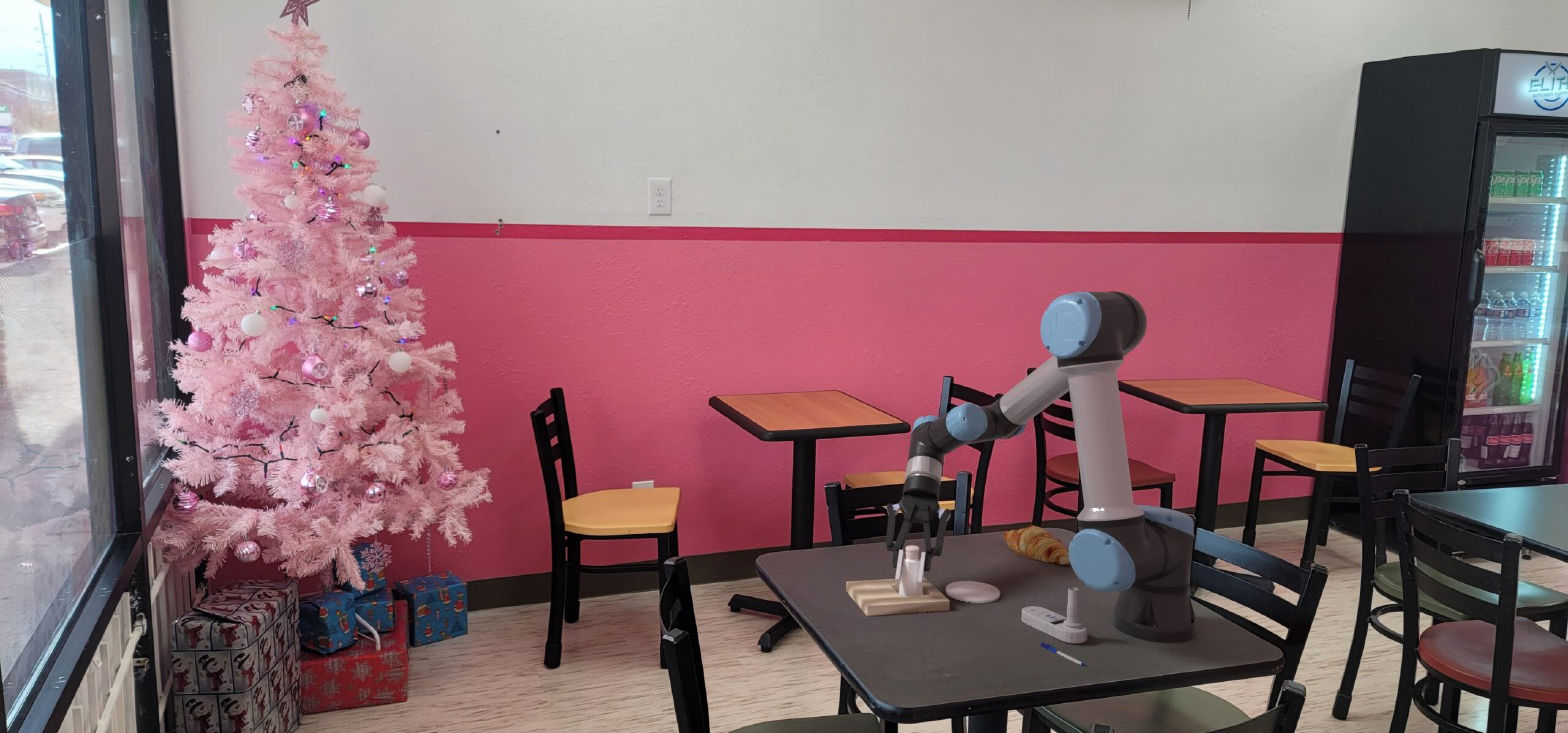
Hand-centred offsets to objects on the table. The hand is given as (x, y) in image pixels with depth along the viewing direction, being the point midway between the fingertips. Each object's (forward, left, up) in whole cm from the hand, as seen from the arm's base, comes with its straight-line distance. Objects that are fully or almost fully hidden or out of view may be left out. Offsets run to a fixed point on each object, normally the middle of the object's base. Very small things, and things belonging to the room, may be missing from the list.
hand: (908, 583), depth 203 cm
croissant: (+26, -41, -5) cm, 49 cm away
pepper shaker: (+3, -2, -5) cm, 6 cm away
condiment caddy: (+3, +1, -5) cm, 6 cm away
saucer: (+4, -16, -5) cm, 17 cm away
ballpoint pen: (-28, -19, -5) cm, 34 cm away
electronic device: (-17, -23, -5) cm, 29 cm away
